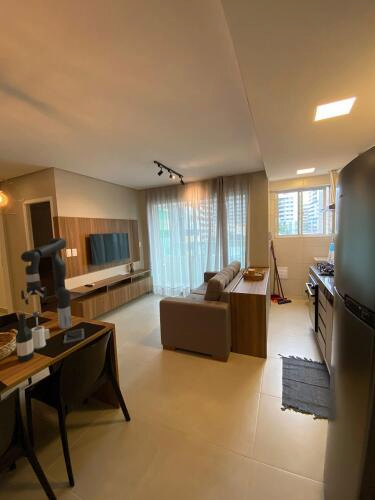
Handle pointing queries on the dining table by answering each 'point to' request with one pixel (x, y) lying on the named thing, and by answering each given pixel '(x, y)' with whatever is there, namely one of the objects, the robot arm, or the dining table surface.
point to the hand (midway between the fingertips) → (35, 303)
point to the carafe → (39, 337)
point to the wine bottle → (24, 341)
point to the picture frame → (73, 336)
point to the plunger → (36, 319)
